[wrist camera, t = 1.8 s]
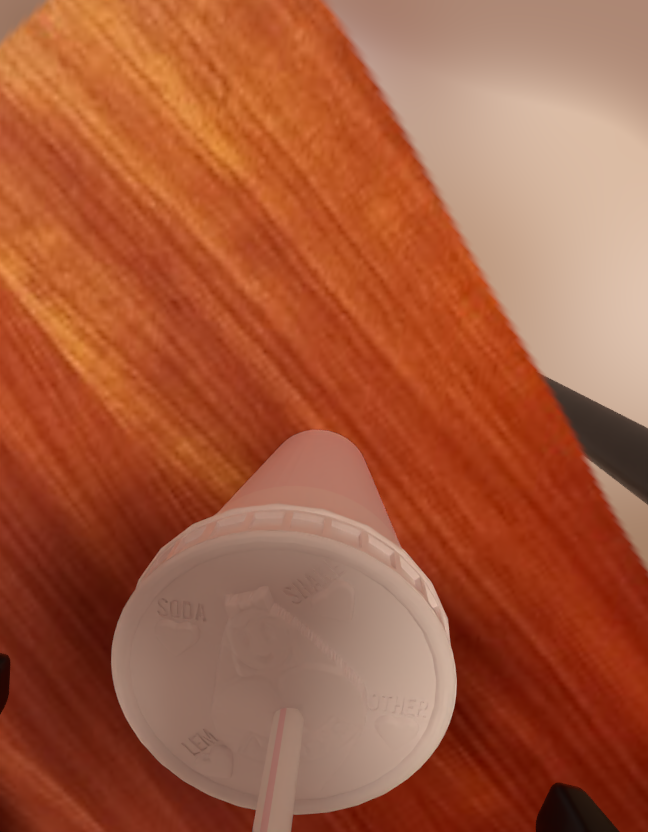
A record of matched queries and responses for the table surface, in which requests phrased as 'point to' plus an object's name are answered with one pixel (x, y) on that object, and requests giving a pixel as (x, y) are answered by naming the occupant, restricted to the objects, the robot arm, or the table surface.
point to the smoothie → (288, 644)
